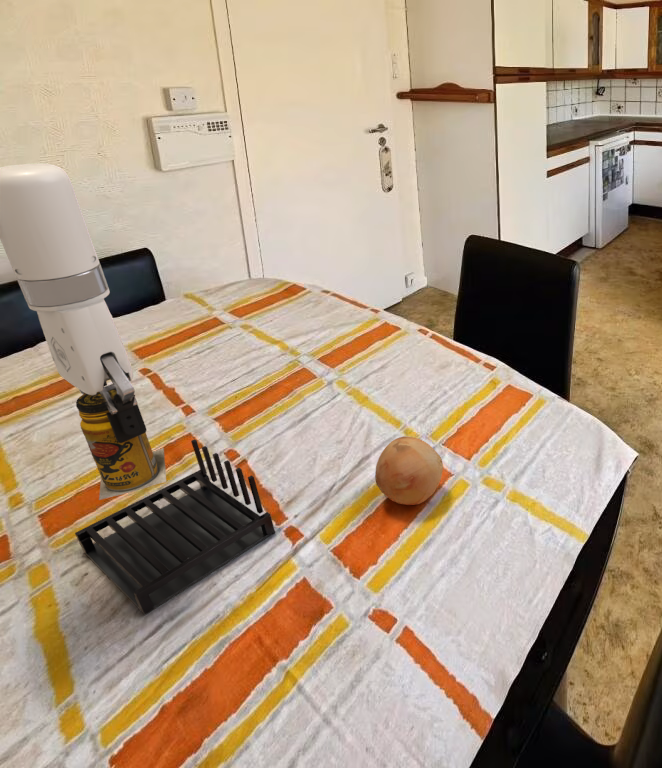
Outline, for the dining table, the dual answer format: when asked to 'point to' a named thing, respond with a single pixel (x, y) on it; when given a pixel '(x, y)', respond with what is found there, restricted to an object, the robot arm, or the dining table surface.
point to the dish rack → (178, 535)
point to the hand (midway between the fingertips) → (119, 426)
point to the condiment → (118, 451)
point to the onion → (408, 471)
